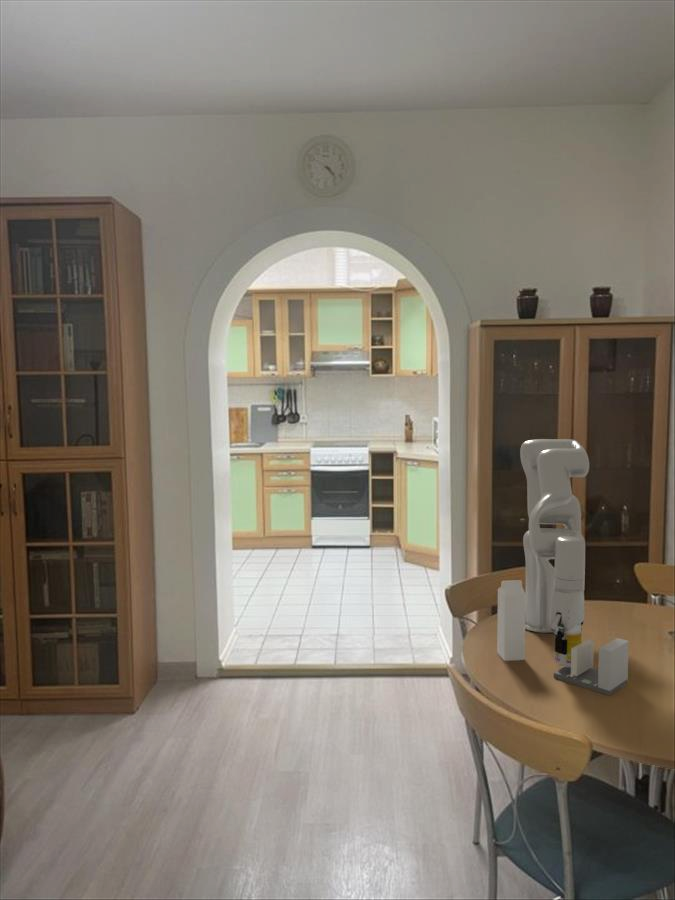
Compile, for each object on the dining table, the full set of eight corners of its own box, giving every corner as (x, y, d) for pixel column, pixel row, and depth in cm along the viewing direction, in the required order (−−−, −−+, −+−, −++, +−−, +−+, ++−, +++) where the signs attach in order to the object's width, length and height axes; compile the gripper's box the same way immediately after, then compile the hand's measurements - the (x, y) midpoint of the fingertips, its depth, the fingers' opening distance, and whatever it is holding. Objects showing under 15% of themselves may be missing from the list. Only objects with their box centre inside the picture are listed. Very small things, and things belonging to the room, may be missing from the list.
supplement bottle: (585, 662, 177) (586, 615, 176) (574, 669, 172) (575, 621, 171) (561, 655, 182) (562, 609, 181) (549, 662, 177) (550, 615, 176)
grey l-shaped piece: (553, 677, 175) (554, 635, 174) (572, 666, 181) (573, 626, 181) (609, 695, 164) (610, 651, 163) (627, 683, 170) (628, 641, 170)
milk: (497, 653, 191) (497, 577, 190) (517, 652, 192) (517, 577, 190) (504, 661, 185) (504, 583, 184) (525, 660, 186) (525, 582, 184)
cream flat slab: (567, 676, 171) (568, 649, 170) (587, 664, 178) (588, 639, 177) (573, 678, 169) (574, 651, 169) (593, 666, 176) (593, 640, 176)
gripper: (572, 574, 184) (571, 637, 185) (538, 587, 172) (537, 654, 174) (598, 579, 178) (597, 644, 180) (565, 593, 167) (564, 662, 168)
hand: (567, 648), depth 177 cm, fingers closed on supplement bottle, 6 cm apart
